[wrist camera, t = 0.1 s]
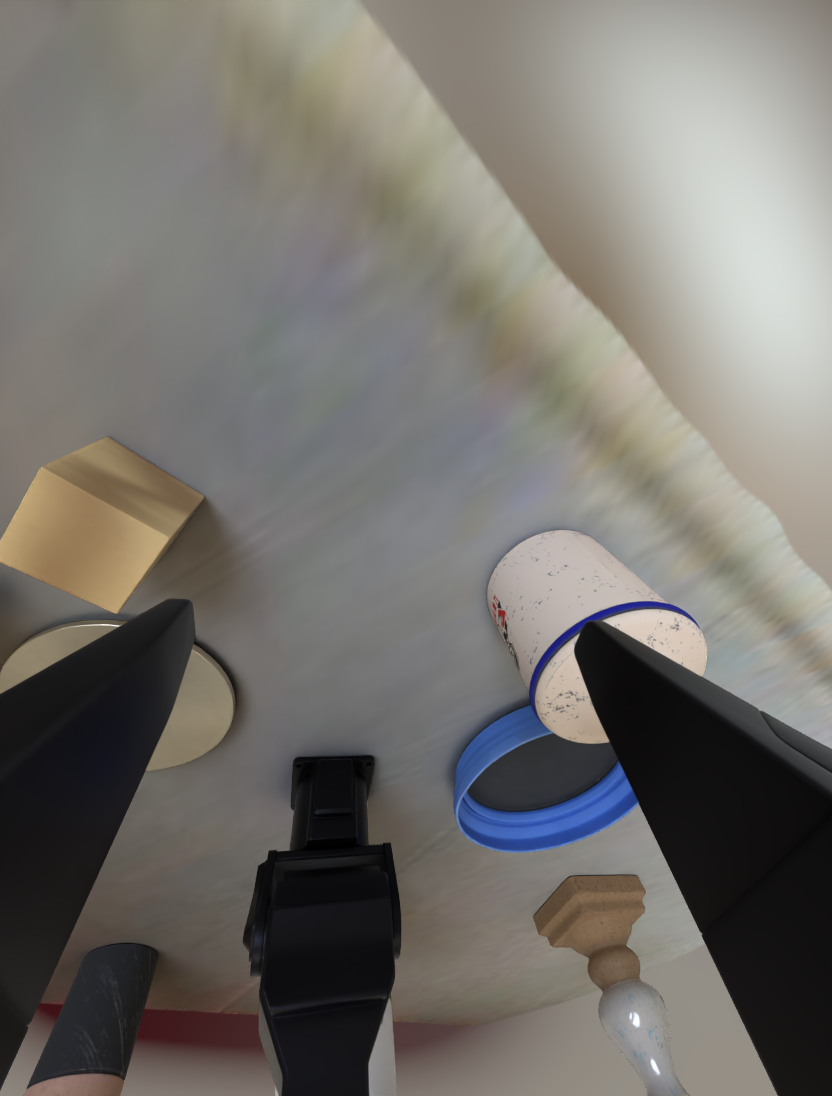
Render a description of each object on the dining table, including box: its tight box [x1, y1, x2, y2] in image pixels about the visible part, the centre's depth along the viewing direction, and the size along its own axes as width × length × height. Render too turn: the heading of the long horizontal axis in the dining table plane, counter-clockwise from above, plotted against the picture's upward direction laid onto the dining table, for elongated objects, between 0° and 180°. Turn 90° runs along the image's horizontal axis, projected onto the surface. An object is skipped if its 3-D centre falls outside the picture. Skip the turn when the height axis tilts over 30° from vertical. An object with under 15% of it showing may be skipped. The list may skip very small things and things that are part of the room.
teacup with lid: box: [487, 530, 707, 744], centre depth 24 cm, size 12×9×12 cm
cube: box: [0, 437, 205, 614], centre depth 19 cm, size 5×5×5 cm
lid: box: [0, 620, 236, 771], centre depth 25 cm, size 13×13×6 cm
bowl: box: [454, 705, 639, 853], centre depth 36 cm, size 18×18×4 cm
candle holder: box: [534, 875, 690, 1096], centre depth 44 cm, size 11×11×24 cm
